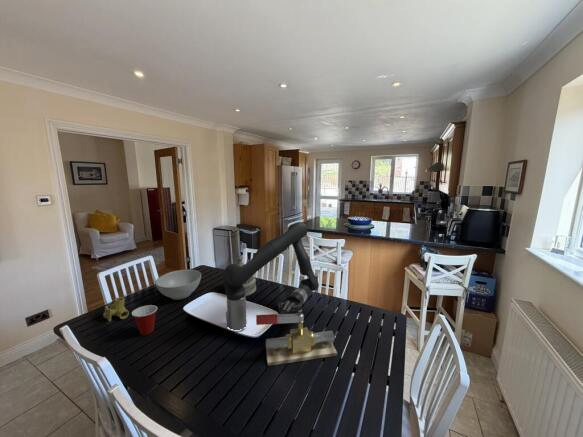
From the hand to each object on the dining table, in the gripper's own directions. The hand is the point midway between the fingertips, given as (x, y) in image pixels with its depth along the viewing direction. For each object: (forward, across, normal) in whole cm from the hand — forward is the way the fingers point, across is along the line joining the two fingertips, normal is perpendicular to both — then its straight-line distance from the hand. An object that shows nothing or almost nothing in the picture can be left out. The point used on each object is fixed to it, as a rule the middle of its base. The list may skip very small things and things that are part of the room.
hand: (281, 317), depth 102 cm
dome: (-36, -50, +16) cm, 64 cm away
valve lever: (+1, 0, +2) cm, 2 cm away
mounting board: (-3, +8, +16) cm, 18 cm away
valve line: (-3, +8, +14) cm, 17 cm away
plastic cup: (+19, -66, +16) cm, 71 cm away
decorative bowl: (-14, -82, +16) cm, 85 cm away
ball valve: (+18, -94, +16) cm, 97 cm away
